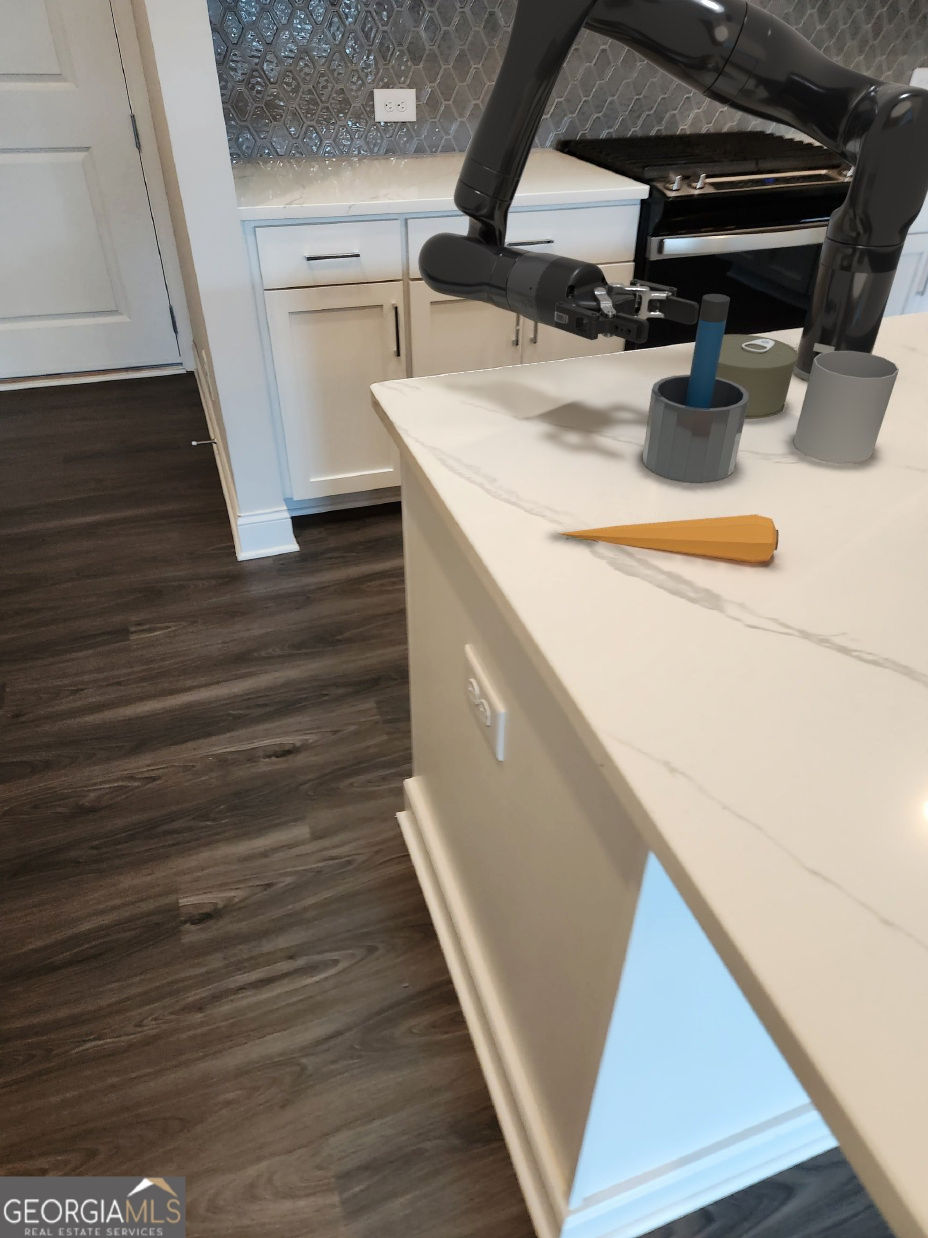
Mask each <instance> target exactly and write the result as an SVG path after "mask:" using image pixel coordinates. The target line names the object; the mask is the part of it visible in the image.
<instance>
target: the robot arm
mask: <svg viewBox="0 0 928 1238" xmlns="http://www.w3.org/2000/svg"><path fill="white" fill-rule="evenodd" d="M582 30H585V31H587V32H590V33H593V34H595V35H599V36H601V37H604V38H607V39H609V40H611V41H613V42H616V43H618V44H620V45H622V46H624V47H625V48H627V49H628V50H630V51H632V52H633V53H635V54H636V55H637V56H639V57H641V58H642V59H643V60H645V61H646V62H648V64H650V65H652V66H653V67H655V68H656V69H658V70H659V71H660V72H662V73H664V74H665V75H667V76H668V77H670V78H672V79H673V80H674V81H676V82H678V83H680V84H682V85H683V86H685V87H687V88H688V89H689V90H692V91H693V92H696V93H697V94H700V95H701V96H704V97H705V98H707V99H710V100H712V101H714V102H716V103H718V104H720V105H722V106H724V107H727V108H729V109H732V110H734V111H736V112H739V113H741V114H744V115H748V116H750V117H754V118H756V119H760V120H763V121H767V122H771V123H775V124H778V125H782V126H786V127H789V128H792V129H794V130H796V131H798V132H800V133H802V134H804V135H806V136H807V137H809V138H810V139H813V140H814V141H815V142H817V143H819V144H820V145H822V146H823V147H825V148H826V149H828V150H829V151H830V152H832V153H834V154H835V155H837V156H838V157H839V158H841V159H842V160H844V162H846V163H847V164H849V166H851V167H853V168H854V171H853V175H852V178H851V181H850V184H849V189H848V191H847V195H846V198H845V200H844V201H843V203H842V204H841V205H840V207H838V208H836V209H835V210H833V211H832V212H831V214H830V216H829V219H828V222H827V226H826V231H825V235H824V239H823V242H822V247H821V251H820V256H819V260H818V264H817V269H816V273H815V277H814V281H813V285H812V289H811V294H810V297H809V301H808V302H809V303H808V307H807V310H806V314H805V319H804V323H803V327H802V332H801V336H800V340H799V344H798V348H797V353H798V359H797V362H796V363H795V366H794V369H793V374H795V375H796V376H797V377H799V378H801V379H803V380H806V381H809V377H810V373H811V369H812V365H813V361H814V358H816V357H817V356H818V355H819V354H822V353H826V352H831V351H854V352H862V353H869V354H872V355H873V352H874V348H875V345H876V342H877V338H878V335H879V331H880V328H881V325H882V321H883V318H884V314H885V311H886V307H887V305H888V301H889V298H890V294H891V290H892V288H893V283H894V280H895V278H896V274H897V270H898V266H899V263H900V259H901V256H902V253H903V250H904V246H905V243H906V239H907V236H908V233H909V230H910V229H911V227H912V225H913V224H914V222H916V220H917V219H918V217H919V215H920V213H921V211H922V209H923V206H924V203H925V201H926V198H927V196H928V89H927V88H923V87H919V86H915V85H910V84H905V83H900V82H894V81H889V80H888V81H887V80H884V79H880V78H877V77H874V76H871V75H868V74H865V73H863V72H860V71H857V70H855V69H852V68H849V67H847V66H845V65H842V64H841V63H838V62H836V61H834V60H832V59H831V58H829V57H828V56H827V55H825V54H824V53H823V52H822V51H820V49H818V48H817V47H816V46H815V45H814V44H813V43H812V42H811V41H809V39H807V38H806V37H805V36H804V35H803V34H802V33H800V32H799V31H798V30H796V28H794V27H793V26H791V25H790V24H789V23H787V22H785V21H784V20H782V19H781V18H779V17H778V16H776V15H775V14H773V13H771V12H770V11H768V10H765V9H763V8H762V7H760V6H758V5H757V4H754V3H752V2H750V1H748V0H516V5H515V11H514V16H513V20H512V25H511V30H510V34H509V36H508V37H509V38H508V41H507V45H506V48H505V51H504V55H503V58H502V61H501V64H500V66H499V70H498V72H497V75H496V78H495V80H494V82H493V85H492V88H491V90H490V93H489V95H488V98H487V100H486V102H485V105H484V107H483V109H482V111H481V114H480V116H479V119H478V121H477V124H476V126H475V129H474V131H473V134H472V137H471V139H470V142H469V144H468V148H467V151H466V154H465V157H464V160H463V163H462V167H461V168H460V169H461V170H460V172H459V176H458V178H457V182H456V184H455V188H454V192H453V204H454V205H455V207H456V209H457V210H458V211H459V212H460V213H461V214H463V215H464V216H467V217H468V229H467V234H466V235H465V234H459V233H454V232H439V233H436V234H434V235H432V236H431V237H429V238H428V239H427V240H426V241H425V242H424V243H423V244H422V246H421V248H420V251H419V254H418V259H417V265H418V271H419V274H420V277H421V279H422V281H423V283H425V284H426V286H427V287H428V288H429V289H430V290H431V291H434V292H436V293H437V294H441V295H445V296H449V297H454V298H459V299H465V300H469V301H476V302H482V303H484V304H488V305H491V306H493V307H496V308H498V309H501V310H504V311H507V312H510V313H514V314H517V315H520V316H522V317H523V318H526V319H528V320H529V321H532V322H535V323H539V324H542V325H545V326H548V327H551V328H555V329H557V330H560V331H564V332H566V333H569V334H572V335H574V336H578V337H580V338H584V339H586V340H590V341H595V340H596V341H597V340H598V339H599V335H601V336H602V337H603V338H608V339H611V338H614V337H616V338H620V339H623V340H626V341H630V342H633V343H637V344H642V343H646V342H647V341H648V338H649V330H650V329H649V328H650V323H649V320H647V319H648V318H661V319H666V320H669V321H672V322H677V323H681V324H684V325H688V326H691V325H694V324H696V323H697V321H698V319H699V312H700V305H699V303H698V302H696V301H692V300H688V299H686V298H685V299H684V298H681V297H677V292H678V288H676V287H673V286H668V285H663V284H659V283H653V282H649V281H645V280H640V279H637V278H633V279H630V280H629V285H626V284H624V283H622V282H608V281H607V277H606V276H605V274H604V272H603V270H602V268H601V267H599V265H598V264H595V263H592V262H588V261H585V260H580V259H576V258H571V257H568V256H563V255H559V254H555V253H550V252H538V251H537V252H536V251H533V250H532V251H531V250H529V249H528V250H527V249H523V248H519V247H514V246H506V237H507V231H508V220H509V212H510V209H511V208H512V207H511V206H512V204H513V202H514V200H515V197H516V194H517V191H518V189H519V186H520V183H521V181H522V177H523V175H524V171H525V169H526V166H527V163H528V160H529V157H530V155H531V151H532V149H533V146H534V143H535V140H536V137H537V134H538V131H539V128H540V125H541V122H542V119H543V117H544V113H545V110H546V108H547V106H548V102H549V101H550V98H551V95H552V92H553V90H554V88H555V86H556V83H557V80H558V78H559V77H560V74H561V71H562V69H563V67H564V65H565V63H566V60H567V58H568V56H569V54H570V52H571V50H572V49H573V47H574V44H575V42H576V41H577V39H578V37H579V35H580V33H581V31H582ZM637 307H640V308H639V309H640V310H639V311H637V312H635V311H636V308H637Z"/></svg>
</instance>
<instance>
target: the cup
mask: <svg viewBox="0 0 928 1238" xmlns="http://www.w3.org/2000/svg"><path fill="white" fill-rule="evenodd" d="M899 371H900V369H899V367H898V366H897V364H896V363H895V362H893V361H891V360H889V359H887V358H885V357H882V356H879V355H875V354H873V353H872V354H869V353H862V352H854V351H831V352H826V353H822V354H819V355H818V356H817V357H816V358H814V361H813V365H812V369H811V373H810V377H809V380H807V381H808V382H807V386H806V388H805V389H806V390H805V393H804V397H803V400H802V401H803V402H802V406H801V410H800V414H799V418H798V421H797V425H796V428H795V429H796V430H795V432H794V437H793V444H794V448H795V449H797V451H799V452H800V453H801V454H803V455H804V456H807V457H810V458H812V459H814V460H817V461H819V462H826V463H832V464H839V465H841V464H843V465H844V464H846V465H847V464H858V463H862V462H865V461H868V460H869V459H870V458H871V456H872V455H873V454H874V450H875V447H876V443H877V441H878V438H879V434H880V431H881V428H882V425H883V421H884V418H885V415H886V413H887V410H888V406H889V403H890V400H891V396H892V394H893V390H894V387H895V383H896V381H897V378H898V374H899Z"/></svg>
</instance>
